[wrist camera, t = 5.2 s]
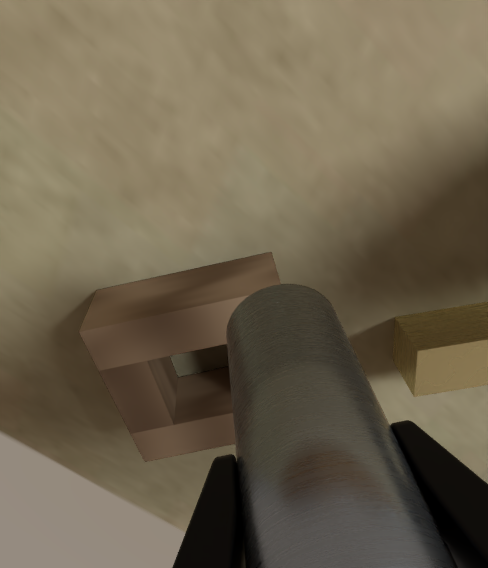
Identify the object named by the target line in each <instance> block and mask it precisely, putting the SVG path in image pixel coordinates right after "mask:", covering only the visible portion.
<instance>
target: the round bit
mask: <svg viewBox="0 0 488 568" xmlns="http://www.w3.org/2000/svg"><path fill="white" fill-rule="evenodd" d="M226 338H227V350H228V362H229V373H230V385H231V397H232V409H233V421H234V432H235V444H236V456H237V468H238V479H239V491H240V503H241V515H242V527H243V538H244V550H245V562H246V568H458V566H457V564H456V562H455V560H454V558H453V556H452V554H451V552H450V549H449V547H448V545H447V543H446V541H445V539H444V537H443V535H442V533H441V531H440V529H439V527H438V525H437V522H436V520H435V518H434V516H433V514H432V512H431V510H430V508H429V506H428V504H427V502H426V500H425V498H424V495H423V493H422V491H421V489H420V487H419V485H418V483H417V481H416V479H415V477H414V475H413V473H412V470H411V468H410V466H409V464H408V462H407V460H406V458H405V456H404V454H403V452H402V450H401V448H400V446H399V443H398V441H397V439H396V437H395V435H394V433H393V431H392V429H391V427H390V425H389V423H388V421H387V418H386V416H385V414H384V412H383V410H382V408H381V406H380V404H379V402H378V400H377V398H376V396H375V394H374V391H373V389H372V387H371V385H370V383H369V381H368V379H367V377H366V375H365V373H364V371H363V369H362V366H361V364H360V362H359V360H358V358H357V356H356V354H355V352H354V350H353V348H352V346H351V344H350V342H349V339H348V337H347V335H346V333H345V331H344V329H343V327H342V325H341V323H340V321H339V319H338V317H337V314H336V312H335V310H334V308H333V307H332V305H331V303H330V302H329V301H328V300H327V299H326V298H325V297H324V296H323V295H322V294H320V293H319V292H317V291H315V290H313V289H311V288H309V287H306V286H302V285H296V284H280V285H273V286H270V287H266V288H263V289H261V290H259V291H257V292H255V293H253V294H251V295H250V296H248V297H247V298H245V299H244V300H243V301H242V302H241V303H240V304H239V305H238V306H237V307H236V309H235V310H234V312H233V313H232V315H231V317H230V319H229V322H228V325H227V331H226Z"/></svg>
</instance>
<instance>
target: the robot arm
mask: <svg viewBox="0 0 488 568" xmlns="http://www.w3.org/2000/svg"><path fill="white" fill-rule="evenodd" d="M390 427H391V429H392V431H393V433H394V435H395V437H396V439H397V441H398V443H399V446H400V448H401V450H402V452H403V454H404V456H405V458H406V460H407V462H408V464H409V466H410V468H411V470H412V473H413V475H414V477H415V479H416V481H417V483H418V485H419V487H420V489H421V491H422V493H423V495H424V498H425V500H426V502H427V504H428V506H429V508H430V510H431V512H432V514H433V516H434V518H435V520H436V522H437V525H438V527H439V529H440V531H441V533H442V535H443V537H444V539H445V541H446V543H447V545H448V547H449V549H450V552H451V554H452V556H453V558H454V560H455V562H456V564H457V566H458V568H488V484H487V483H486V482H485V481H483V480H482V479H481V478H480V477H479V476H477V475H476V474H475V473H474V472H472V471H471V470H470V469H469V468H468V467H466V466H465V465H464V464H463V463H462V462H460V461H459V460H458V459H457V458H456V457H454V456H453V455H452V454H451V453H450V452H448V451H447V450H446V449H445V448H444V447H442V446H441V445H440V444H439V443H437V442H436V441H435V440H434V439H433V438H431V437H430V436H429V435H428V434H427V433H425V432H424V431H423V430H422V429H421V428H419V427H418V426H417V425H416V424H415V423H413V422H412V421H409V420H406V421H401V422H396V423H392V424H391V425H390ZM173 568H246V562H245V550H244V538H243V527H242V515H241V503H240V491H239V479H238V468H237V461H236V458H235V456H234V455H232V454H230V455H225V456H220V457H216V458H215V459H214V461H213V463H212V466H211V468H210V471H209V473H208V476H207V479H206V481H205V484H204V486H203V489H202V492H201V494H200V497H199V500H198V502H197V505H196V507H195V510H194V513H193V515H192V518H191V520H190V523H189V526H188V528H187V531H186V533H185V536H184V539H183V542H182V544H181V547H180V549H179V552H178V555H177V557H176V560H175V563H174V565H173Z"/></svg>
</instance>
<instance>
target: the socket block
mask: <svg viewBox="0 0 488 568" xmlns="http://www.w3.org/2000/svg"><path fill="white" fill-rule="evenodd" d="M280 284H281V283H280V279H279V276H278V273H277V269H276V266H275V263H274V259H273V256H272V253H271V252H269V253H264V254H260V255H255V256H251V257H246V258H241V259H237V260H232V261H228V262H223V263H219V264H214V265H209V266H205V267H200V268H196V269H191V270H187V271H182V272H177V273H173V274H168V275H164V276H159V277H155V278H150V279H145V280H141V281H136V282H132V283H127V284H123V285H118V286H114V287H109V288H104V289H100V290H96V292H95V295H94V297H93V299H92V302H91V304H90V306H89V309H88V311H87V314H86V316H85V318H84V321H83V323H82V325H81V328H80V330H79V334H80V336H81V338H82V340H83V341H84V343H85V345H86V347H87V349H88V351H89V353H90V355H91V357H92V359H93V361H94V363H95V365H96V367H97V369H98V371H99V373H100V375H101V377H102V379H103V381H104V383H105V385H106V387H107V389H108V391H109V393H110V395H111V397H112V399H113V400H114V402H115V404H116V406H117V408H118V410H119V412H120V414H121V416H122V418H123V420H124V422H125V424H126V426H127V428H128V430H129V432H130V434H131V436H132V438H133V440H134V442H135V444H136V446H137V448H138V450H139V452H140V454H141V456H142V458H143V459H144V461H145V462H147V461H152V460H157V459H162V458H167V457H172V456H177V455H182V454H186V453H191V452H196V451H201V450H206V449H211V448H216V447H221V446H226V445H231V444H235V432H234V421H233V409H232V397H231V385H230V373H229V367H226V368H221V369H216V370H211V371H207V372H202V373H197V374H192V375H188V376H183V377H177V374H176V371H175V369H174V366H173V364H172V361H171V358H170V356H171V355H176V354H181V353H186V352H190V351H195V350H200V349H205V348H209V347H214V346H219V345H223V344H227V338H226V331H227V325H228V322H229V319H230V317H231V315H232V313H233V312H234V310H235V309H236V307H237V306H238V305H239V304H240V303H241V302H242V301H243V300H244V299H245V298H247V297H248V296H250V295H251V294H253V293H255V292H257V291H259V290H261V289H263V288H266V287H270V286H273V285H280Z"/></svg>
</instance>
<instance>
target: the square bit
mask: <svg viewBox="0 0 488 568" xmlns="http://www.w3.org/2000/svg"><path fill="white" fill-rule="evenodd" d="M393 361H394V363H395V365H396V366H397V368H398V370H399V372H400V373H401V375H402V377H403V379H404V380H405V382H406V384H407V385H408V387H409V389H410V391H411V392H412V394H413V396H414V397H417V396H423V395H429V394H435V393H441V392H447V391H453V390H459V389H465V388H471V387H477V386H483V385H488V302H483V303H477V304H471V305H465V306H459V307H453V308H447V309H441V310H435V311H429V312H423V313H417V314H411V315H405V316H399V317H395V327H394V350H393Z"/></svg>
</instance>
